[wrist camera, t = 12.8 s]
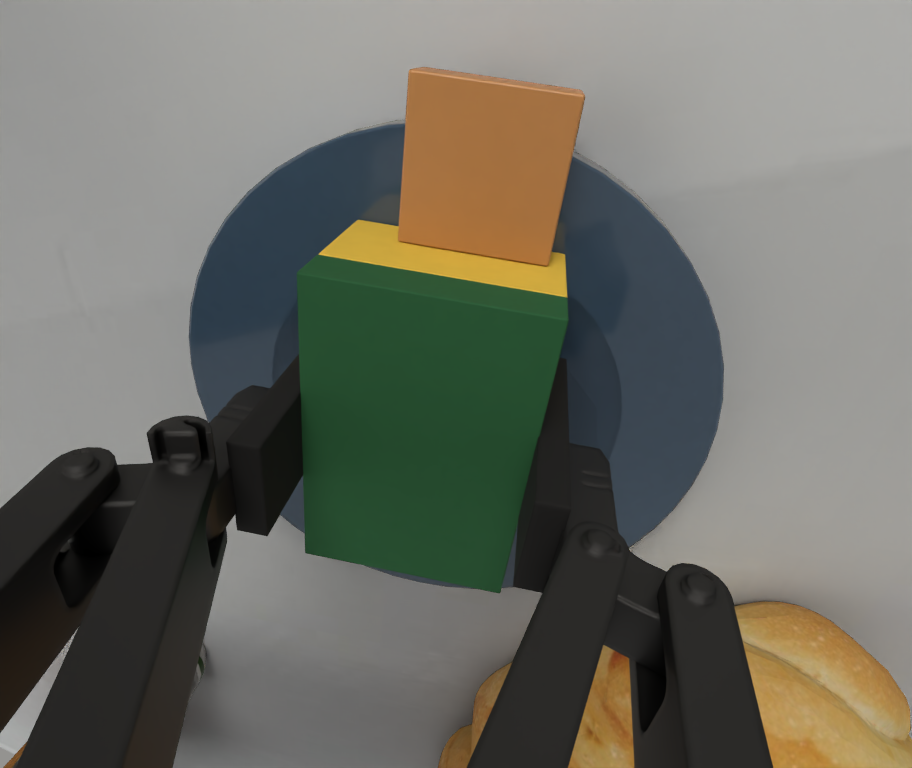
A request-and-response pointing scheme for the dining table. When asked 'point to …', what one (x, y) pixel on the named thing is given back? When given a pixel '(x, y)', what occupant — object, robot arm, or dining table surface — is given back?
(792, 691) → the bread
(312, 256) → the plate
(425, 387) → the sponge
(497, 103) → the orange brown block
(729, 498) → the dining table surface
